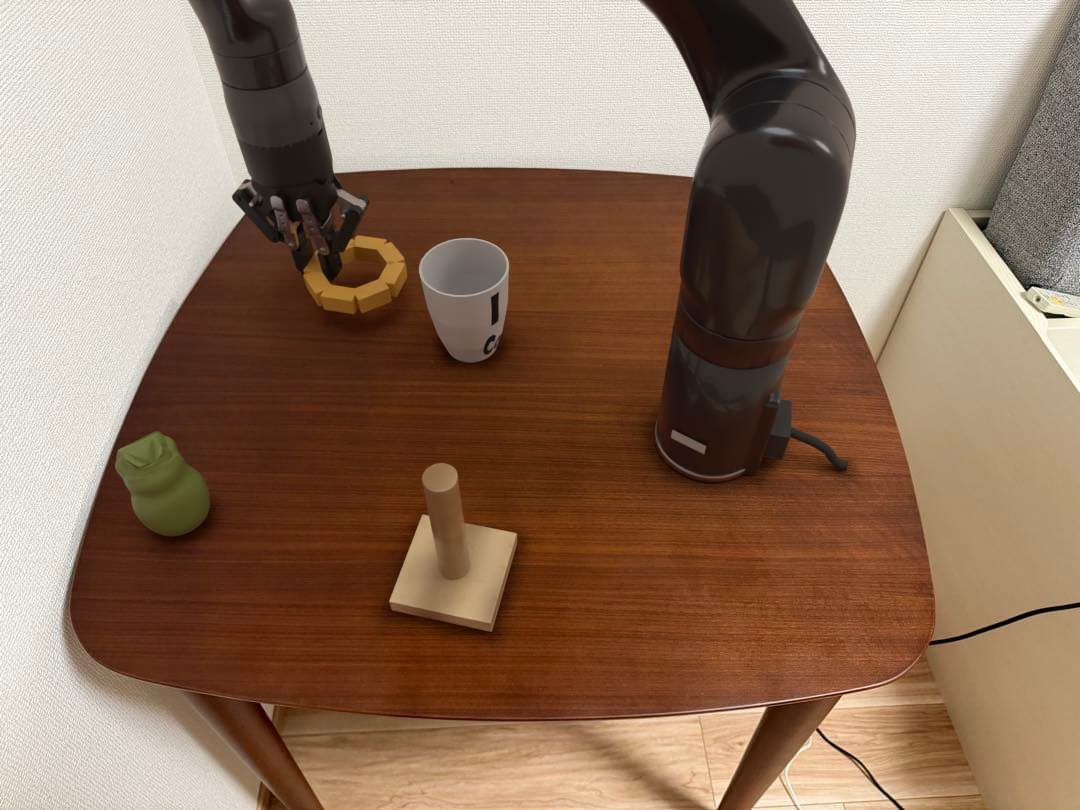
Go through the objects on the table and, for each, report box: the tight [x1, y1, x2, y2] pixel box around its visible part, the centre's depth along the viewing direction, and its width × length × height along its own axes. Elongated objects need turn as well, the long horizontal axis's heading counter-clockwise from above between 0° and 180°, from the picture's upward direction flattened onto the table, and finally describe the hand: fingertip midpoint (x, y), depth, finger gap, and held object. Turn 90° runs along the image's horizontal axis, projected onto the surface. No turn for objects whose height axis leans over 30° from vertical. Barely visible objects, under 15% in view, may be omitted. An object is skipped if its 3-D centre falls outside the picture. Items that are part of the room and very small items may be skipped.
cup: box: [418, 237, 510, 363], centre depth 78 cm, size 8×8×10 cm
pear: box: [114, 430, 211, 537], centre depth 65 cm, size 6×5×10 cm
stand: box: [388, 462, 518, 633], centre depth 60 cm, size 8×8×14 cm
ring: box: [302, 234, 408, 315], centre depth 82 cm, size 10×10×2 cm
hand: (321, 274), depth 83 cm, fingers closed on ring, 2 cm apart
